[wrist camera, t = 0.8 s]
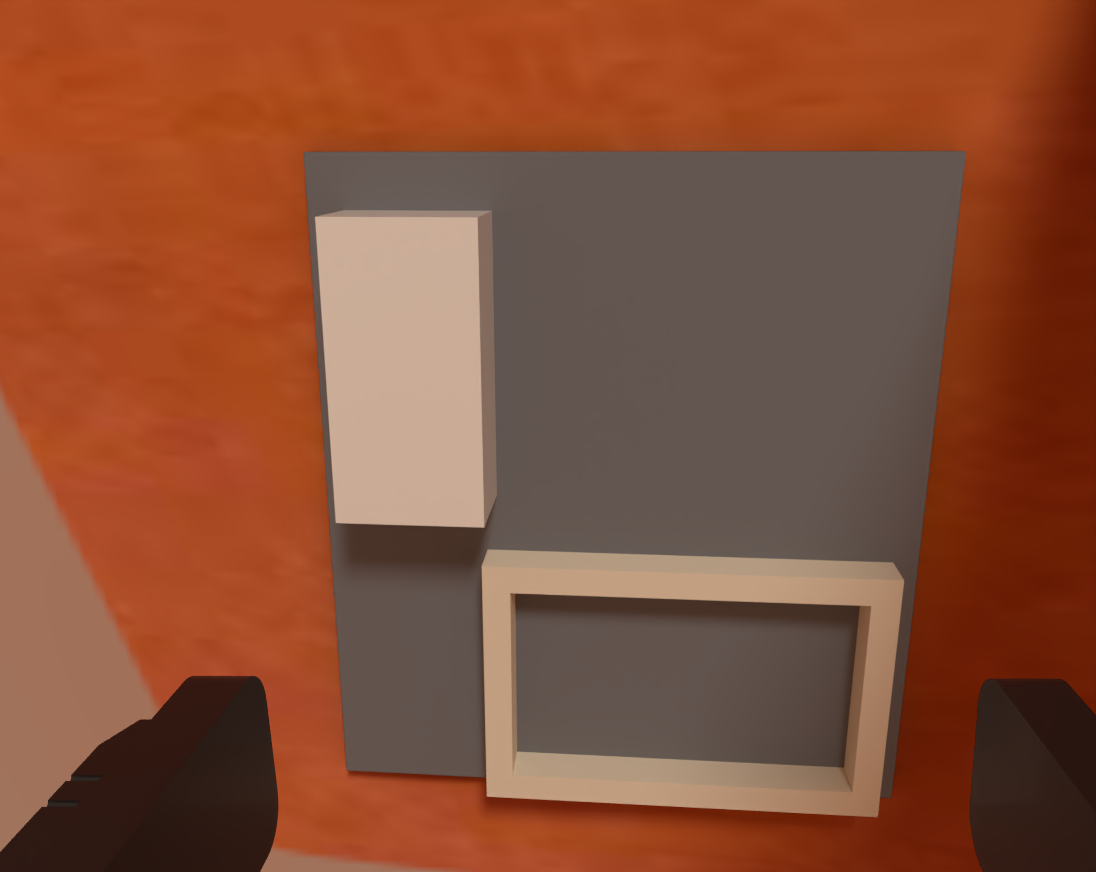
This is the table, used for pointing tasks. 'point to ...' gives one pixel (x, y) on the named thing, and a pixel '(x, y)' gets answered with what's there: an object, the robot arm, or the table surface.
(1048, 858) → the robot arm
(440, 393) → the tile
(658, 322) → the mat
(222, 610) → the table surface
